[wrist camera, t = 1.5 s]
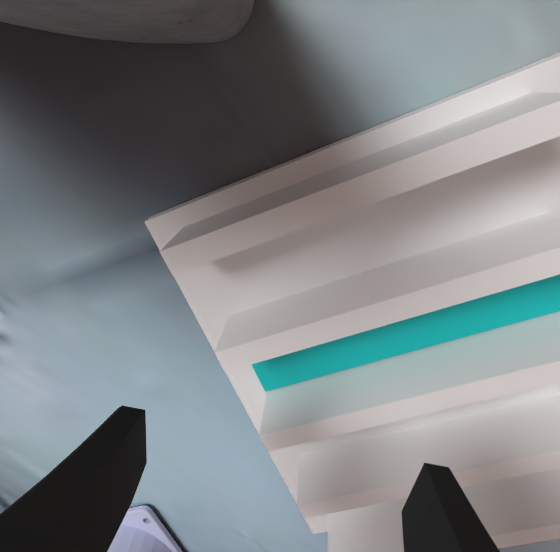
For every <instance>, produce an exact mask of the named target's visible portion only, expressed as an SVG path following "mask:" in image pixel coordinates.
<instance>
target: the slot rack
mask: <svg viewBox="0 0 560 552" xmlns="http://www.w3.org/2000/svg"><path fill="white" fill-rule="evenodd" d="M144 222H145V224H146V226H147V228H148V230H149V232H150V233H151V235H152V237H153V239H154V241H155V243H156V244H157V246H158V248H159V250H160V254H161V255H162V257H163V259H164V261H165V263H166V265H167V266H168V268H169V270H170V272H171V274H172V275H173V276H174V278H175V280H176V281H177V283H178V285H179V287H180V289H181V291H182V293H183V294H184V296H185V298H186V300H187V302H188V304H189V305H190V307H191V309H192V311H193V313H194V315H195V317H196V318H197V320H198V322H199V324H200V326H201V328H202V330H203V331H204V333H205V335H206V337H207V339H208V341H209V342H210V344H211V346H212V348H213V350H214V353H215V355H216V357H217V359H218V361H219V362H220V364H221V366H222V368H223V370H224V372H226V374H227V376H228V378H229V379H230V381H231V383H232V385H233V387H234V389H235V391H236V392H237V394H238V396H239V398H240V400H241V402H242V404H243V405H244V407H245V409H246V411H247V413H248V415H249V416H250V418H251V420H252V422H253V424H254V426H255V428H256V429H257V431H258V433H259V436H260V438H261V440H262V442H263V444H264V446H265V447H266V449H267V451H268V452H269V453H270V455H271V457H272V459H273V461H274V463H275V465H276V466H277V468H278V470H279V472H280V474H281V476H282V477H283V479H284V481H285V483H286V485H287V487H288V489H289V490H290V492H291V494H292V496H293V498H294V500H295V502H296V503H297V506H298V508H299V510H300V512H301V514H302V516H303V518H304V519H305V520H306V522H307V524H308V526H309V527H310V529H311V531H312V533H313V534H317V533H323V532H328V552H404V544H403V529H402V509H403V507H404V505H405V503H406V501H407V499H408V496H409V494H410V492H411V490H412V488H413V486H414V484H415V482H416V479H417V477H418V475H419V473H420V471H421V469H422V467H423V464H424V463H429V464H434V465H440V466H445V467H449V469H450V470H451V471H452V473H453V475H454V477H455V478H456V480H457V482H458V483H459V485H460V487H461V488H462V490H463V492H464V493H465V495H466V497H467V499H468V500H469V502H470V504H471V505H472V507H473V509H474V510H475V512H476V514H477V515H478V517H479V519H480V520H481V522H482V524H483V525H484V527H485V529H486V530H487V532H488V533H489V535H490V537H491V538H492V540H493V542H494V543H495V545H496V546H497V548H498V549H499V548H505V547H511V546H517V545H524V544H530V543H536V542H542V541H548V540H554V539H560V53H556V54H554V55H551V56H549V57H546V58H544V59H541V60H539V61H536V62H534V63H531V64H529V65H526V66H524V67H521V68H519V69H516V70H514V71H511V72H509V73H506V74H504V75H501V76H499V77H496V78H494V79H491V80H489V81H486V82H484V83H481V84H479V85H476V86H474V87H471V88H469V89H466V90H464V91H461V92H459V93H456V94H454V95H451V96H449V97H446V98H444V99H441V100H439V101H436V102H434V103H431V104H429V105H426V106H424V107H421V108H419V109H416V110H414V111H411V112H409V113H406V114H404V115H401V116H399V117H396V118H394V119H391V120H389V121H386V122H384V123H381V124H379V125H376V126H374V127H371V128H369V129H366V130H364V131H361V132H359V133H356V134H354V135H352V136H349V137H347V138H344V139H342V140H339V141H337V142H334V143H332V144H329V145H327V146H324V147H322V148H319V149H317V150H314V151H312V152H309V153H307V154H304V155H302V156H299V157H297V158H294V159H292V160H289V161H287V162H284V163H282V164H279V165H277V166H274V167H272V168H269V169H267V170H264V171H262V172H259V173H257V174H254V175H252V176H249V177H247V178H244V179H242V180H239V181H237V182H234V183H232V184H229V185H227V186H224V187H222V188H219V189H217V190H214V191H212V192H209V193H207V194H204V195H202V196H199V197H197V198H194V199H192V200H189V201H187V202H184V203H182V204H179V205H177V206H174V207H172V208H169V209H167V210H164V211H162V212H159V213H157V214H154V215H152V216H151V217H150V218H148V219H147V220H146V221H144Z"/></svg>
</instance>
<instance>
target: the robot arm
mask: <svg viewBox="0 0 560 552" xmlns="http://www.w3.org/2000/svg"><path fill="white" fill-rule="evenodd" d="M145 465H146V423H145V410H142V409H137V408H132V407H126V406H121V407H119V408H118V409H117V410H116V411H115V412H114V413H113V414H112V415H111V416H110V417H109V418H108V419H107V420H106V421H105V422H104V423H103V424H102V425H101V426H100V427H99V428H98V429H97V430H96V431H95V432H93V433H92V434H91V435H90V436H89V437H88V438H87V439H86V440H85V441H84V442H83V443H82V444H81V445H80V446H79V447H78V448H77V449H76V450H74V451H73V452H72V453H71V454H70V455H69V456H68V457H67V458H66V459H64V460H63V461H62V462H61V463H60V464H59V465H58V466H57V467H56V468H54V469H53V470H52V471H51V472H50V473H49V474H48V475H47V476H45V477H44V478H43V479H42V480H41V481H40V482H39V483H37V484H36V485H35V486H34V487H32V488H31V489H30V490H29V491H28V492H26V493H25V494H24V495H23V496H22V497H20V498H19V499H18V500H17V501H16V502H14V503H13V504H12V505H11V506H10V507H8V508H7V509H6V510H5V511H3V512H2V513H1V514H0V552H183V551H182V550H181V549H180V547H179V546H178V544H177V543H176V542H175V540H174V539H173V538H172V536H171V535H170V534H169V532H168V531H167V529H166V528H165V527H164V525H163V524H162V523H161V521H160V520H159V519H158V517H157V516H156V515H155V513H154V512H153V510H152V509H151V508H150V507H148V506H145V505H142V506H138V507H133V508H129V507H130V505H131V502H132V500H133V497H134V495H135V492H136V489H137V487H138V484H139V482H140V479H141V476H142V473H143V471H144V468H145ZM402 529H403V544H404V552H500V551H499V549H498V548H497V546H496V545H495V543H494V542H493V540H492V538H491V537H490V535H489V533H488V532H487V530H486V529H485V527H484V525H483V524H482V522H481V520H480V519H479V517H478V515H477V514H476V512H475V510H474V509H473V507H472V505H471V504H470V502H469V500H468V499H467V497H466V495H465V493H464V492H463V490H462V488H461V487H460V485H459V483H458V482H457V480H456V478H455V477H454V475H453V473H452V471H451V470H450V469H449V467H445V466H440V465H434V464H429V463H424V464H423V467H422V469H421V471H420V473H419V475H418V477H417V479H416V482H415V484H414V486H413V488H412V490H411V492H410V494H409V496H408V499H407V501H406V503H405V505H404V507H403V509H402Z"/></svg>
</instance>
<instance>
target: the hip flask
mask: <svg viewBox="0 0 560 552" xmlns="http://www.w3.org/2000/svg"><path fill="white" fill-rule="evenodd" d="M254 3H255V0H0V22H4V23H9V24H13V25H18V26H23V27H28V28H33V29H38V30H43V31H49V32H54V33H60V34H66V35H71V36H78V37H86V38H93V39H100V40H111V41H122V42H136V43H155V44H190V43H212V42H221V41H226V40H228V39H230V38H232V37H234V36H235V35H237V34H238V33H239V32H240V31H241V30H242V29H243V28H244V27H245V26H246V24H247V22H248V20H249V19H250V17H251V14H252V11H253V8H254Z"/></svg>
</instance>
